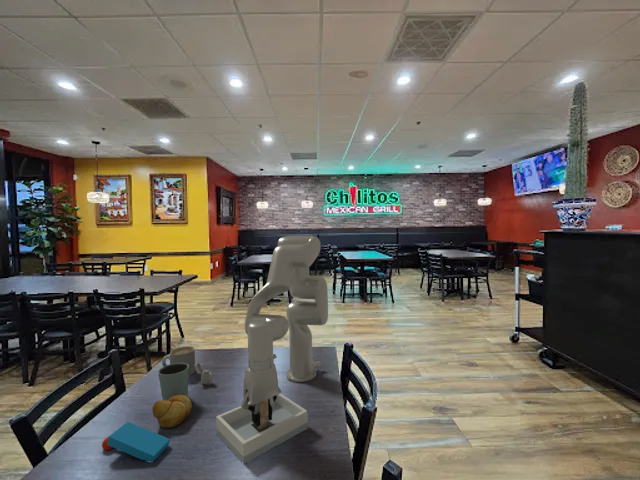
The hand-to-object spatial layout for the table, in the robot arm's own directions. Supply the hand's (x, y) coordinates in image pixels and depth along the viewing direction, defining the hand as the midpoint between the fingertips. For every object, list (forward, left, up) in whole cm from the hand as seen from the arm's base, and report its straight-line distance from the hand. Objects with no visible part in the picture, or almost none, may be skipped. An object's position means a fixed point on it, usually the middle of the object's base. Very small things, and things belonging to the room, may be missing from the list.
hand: (262, 420), depth 97 cm
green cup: (+14, -38, -4) cm, 41 cm away
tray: (0, 0, -3) cm, 3 cm away
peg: (0, 0, -3) cm, 3 cm away
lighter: (+1, -44, -4) cm, 44 cm away
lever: (+32, -18, -4) cm, 37 cm away
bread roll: (+17, -25, -4) cm, 31 cm away
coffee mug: (+5, -61, -4) cm, 61 cm away
